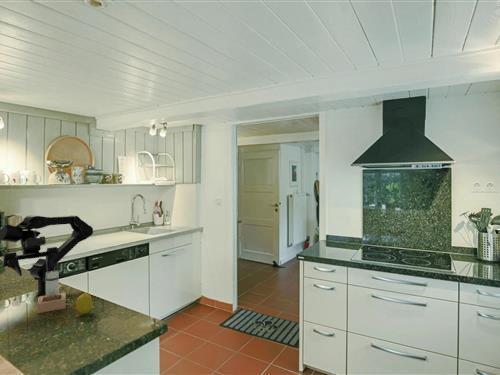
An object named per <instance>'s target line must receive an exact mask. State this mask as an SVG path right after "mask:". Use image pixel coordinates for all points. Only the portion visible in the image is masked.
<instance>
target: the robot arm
mask: <svg viewBox="0 0 500 375" xmlns="http://www.w3.org/2000/svg"><path fill="white" fill-rule="evenodd" d="M57 225H58V226H61V225H70V227H71V229H72V230H73V231H71V232H72V233H71V235H70V236H69V238H67V239H66V240H65V241H64V242H63V243H62V244H61V245H60V246H59V247H57V246H52V247H47V248H46V251H41V249H42V248H41V246H42V245H43V246H44V245H45V244H46V242H47V241H46V237H45V235H44V236H40V234H41V232H40V231H39V230H38V229H43V228H45V227H48V226H57ZM93 234H94V229H93V227H92V226H91V225H89V224H88V223H87V222H85V221H84V220H83V219H81V218H80V216H78V215H69V216H68V215H66V216H65V215H64V216H48V217H47V216H41V215H27V216H25V217H24V218H23V220H22V221H20V222H19V223H18V224H17V225H12V224H7V223H5V224H4V225H3V227H2V228H1V229H0V242H9V243H17V242H19V241H20V245H21V246H20V247H21V251H22V254H17V252H16V251H14V252H6V253H4V254H3V258H2V267H4V268H6V267H7V268H11V269H12V270H14V271H15V272H16V273H17V275H18V276H19V277H22V275H23V274H22V269H21V266H20V263H19V261H21V260H30V259H36V258H38V259H37V261H36V262H35V263H33V264H32V265H31V267H30V270H29V273H30V276H31V277H32V278H34V279H33V280H34V281H37V292H36V296H35V297H41V296H46V280H45V278H46V272H49V271H55V267H56V266H57V264H58V263H59V262H60V261H61V260H62V259H64V257H65V256H66V255H68V254H69V253H70V251H71V250H73V248H75V247H76V246H77V245H78V244H79V243H81V242H82V241H85V240H87V239H88V238H89V237H91V236H92V235H93ZM43 257H45V258H43Z"/></svg>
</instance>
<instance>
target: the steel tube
mask: <svg viewBox="0 0 500 375" xmlns="http://www.w3.org/2000/svg"><path fill="white" fill-rule="evenodd" d="M59 273H60V272H59V270H54V271H49V272H46V278H45V280H46V295H45V296H46V302H47V301H52V300H58V299H59V294H60V291H59V290H60V288H59V287H60V286H59V285H60V284H59V283H60V276H59Z"/></svg>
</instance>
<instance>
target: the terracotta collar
mask: <svg viewBox="0 0 500 375" xmlns="http://www.w3.org/2000/svg"><path fill="white" fill-rule="evenodd" d="M37 299H38V300H37V303H36V306H37V307H36V310H37V312H36V313H37V314H43V313H47V312H53V311H57V310H64V309H66V308H67V305H66V304H67V300H66V299H67V297H66V292H59V299H58V300H52V301H47V302H46V295H42V296H38V298H37Z"/></svg>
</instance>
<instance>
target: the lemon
mask: <svg viewBox="0 0 500 375" xmlns="http://www.w3.org/2000/svg"><path fill="white" fill-rule="evenodd" d="M93 303H94V302H93V298H92V296H91V295H90V294H88V293H85V292H83V293H82V294H81V295H79V296H78V298H76V302H75V307H76V310H77V312H78V313H79V314H83V315H86V314H87V313H88V312H90V310H92V308H93Z"/></svg>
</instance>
